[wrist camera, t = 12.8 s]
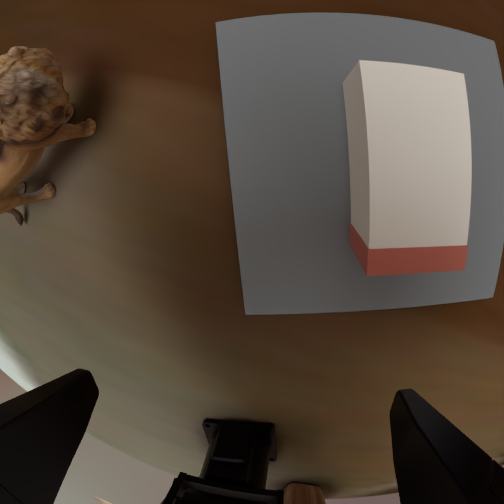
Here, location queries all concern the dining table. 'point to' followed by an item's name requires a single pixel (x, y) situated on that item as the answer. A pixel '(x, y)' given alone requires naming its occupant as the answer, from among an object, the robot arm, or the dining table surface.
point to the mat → (341, 158)
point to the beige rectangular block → (408, 167)
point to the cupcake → (303, 494)
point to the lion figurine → (31, 121)
